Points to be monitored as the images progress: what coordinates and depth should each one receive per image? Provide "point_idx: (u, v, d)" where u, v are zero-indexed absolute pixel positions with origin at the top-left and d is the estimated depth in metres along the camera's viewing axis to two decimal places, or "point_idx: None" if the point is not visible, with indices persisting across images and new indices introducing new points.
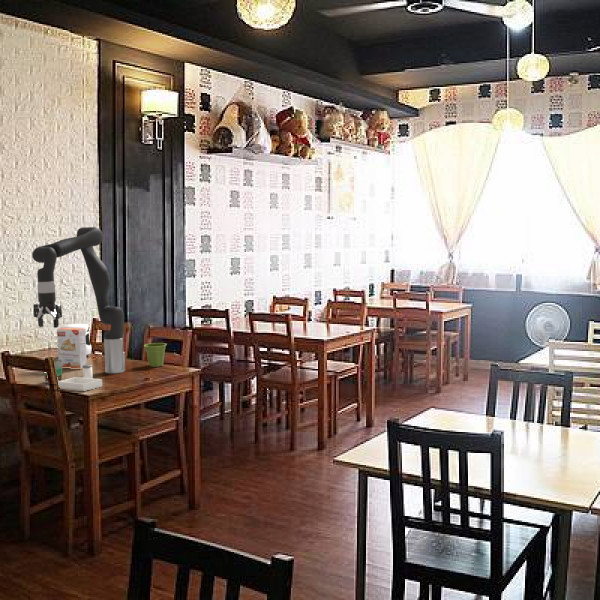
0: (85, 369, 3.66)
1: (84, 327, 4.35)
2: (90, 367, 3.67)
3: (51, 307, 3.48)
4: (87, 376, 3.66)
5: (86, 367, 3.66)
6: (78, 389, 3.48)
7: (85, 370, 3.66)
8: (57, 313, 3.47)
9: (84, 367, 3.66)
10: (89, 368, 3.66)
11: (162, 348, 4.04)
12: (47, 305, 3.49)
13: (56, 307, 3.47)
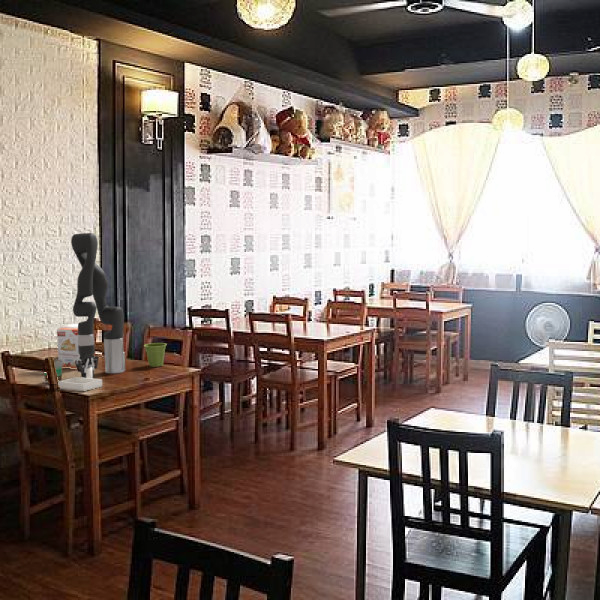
0: None
1: None
2: (90, 367, 3.67)
3: (93, 357, 3.70)
4: (87, 376, 3.66)
5: None
6: (78, 389, 3.48)
7: None
8: (96, 364, 3.72)
9: None
10: (89, 368, 3.66)
11: (162, 348, 4.04)
12: (90, 356, 3.68)
13: (97, 358, 3.72)
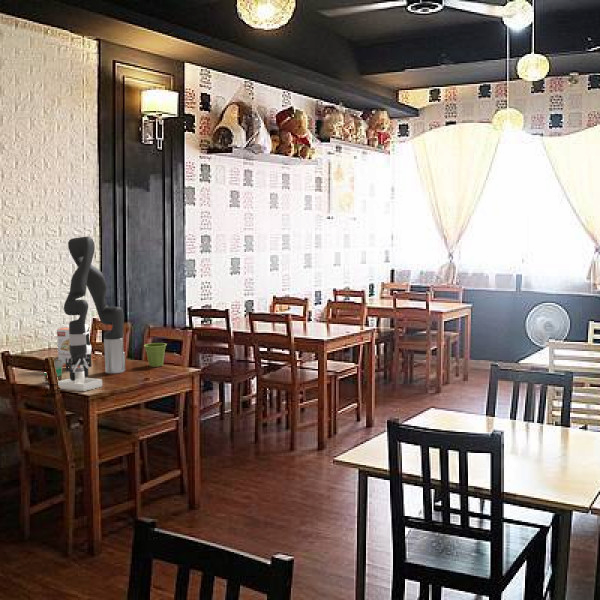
0: (77, 373, 3.52)
1: None
2: (82, 371, 3.53)
3: (85, 357, 3.56)
4: (79, 380, 3.53)
5: (78, 371, 3.52)
6: (78, 389, 3.48)
7: (77, 374, 3.53)
8: (90, 362, 3.59)
9: (76, 371, 3.53)
10: (81, 372, 3.53)
11: (162, 348, 4.04)
12: (82, 356, 3.54)
13: (90, 356, 3.59)
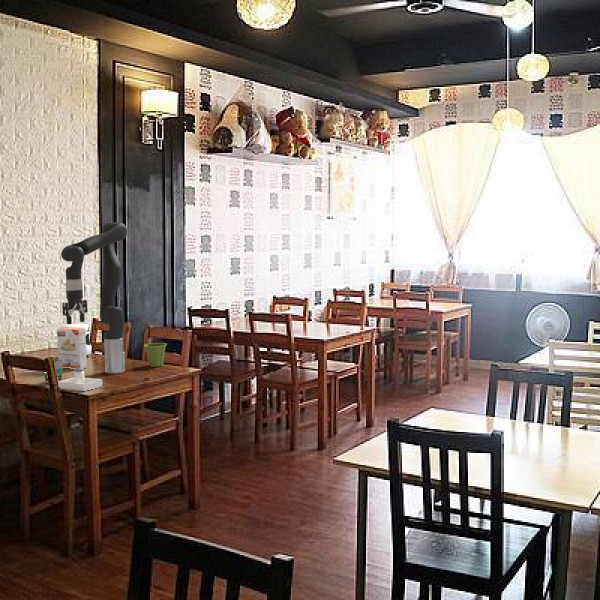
0: (76, 373, 3.52)
1: (84, 327, 4.35)
2: (82, 370, 3.53)
3: (81, 303, 3.69)
4: (79, 380, 3.53)
5: (77, 371, 3.52)
6: (78, 389, 3.48)
7: (76, 374, 3.53)
8: (86, 307, 3.72)
9: (75, 371, 3.53)
10: (80, 372, 3.53)
11: (162, 348, 4.04)
12: (78, 301, 3.67)
13: (86, 302, 3.71)
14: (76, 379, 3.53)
